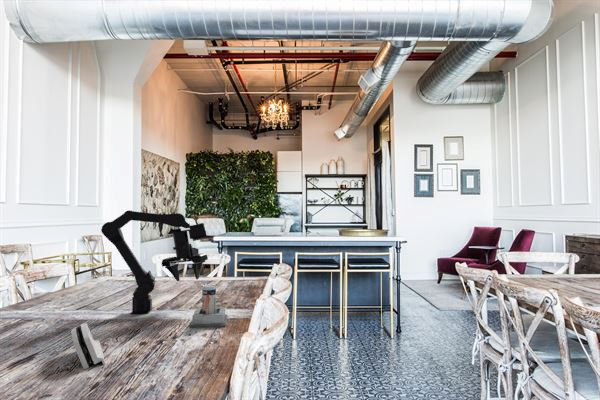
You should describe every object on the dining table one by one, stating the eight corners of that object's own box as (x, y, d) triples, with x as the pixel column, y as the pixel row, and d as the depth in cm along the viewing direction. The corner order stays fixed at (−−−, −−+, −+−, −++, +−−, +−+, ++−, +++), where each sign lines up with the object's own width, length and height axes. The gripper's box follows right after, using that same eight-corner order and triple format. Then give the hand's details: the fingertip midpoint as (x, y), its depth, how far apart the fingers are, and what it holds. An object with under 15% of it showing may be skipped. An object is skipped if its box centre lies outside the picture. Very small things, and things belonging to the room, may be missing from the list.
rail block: (189, 328, 129) (189, 316, 129) (194, 318, 141) (194, 307, 141) (225, 326, 131) (225, 314, 131) (227, 317, 143) (227, 306, 143)
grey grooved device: (105, 364, 98) (91, 330, 97) (86, 375, 96) (71, 340, 94) (100, 345, 112) (88, 315, 111) (83, 354, 110) (70, 323, 109)
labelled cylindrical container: (200, 318, 137) (200, 285, 137) (213, 316, 139) (213, 284, 140) (204, 322, 133) (204, 287, 133) (217, 320, 135) (217, 286, 135)
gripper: (211, 237, 161) (217, 273, 162) (174, 242, 167) (180, 277, 167) (197, 241, 151) (203, 280, 151) (158, 247, 156) (164, 284, 156)
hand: (187, 280), depth 156 cm, fingers open, 9 cm apart
